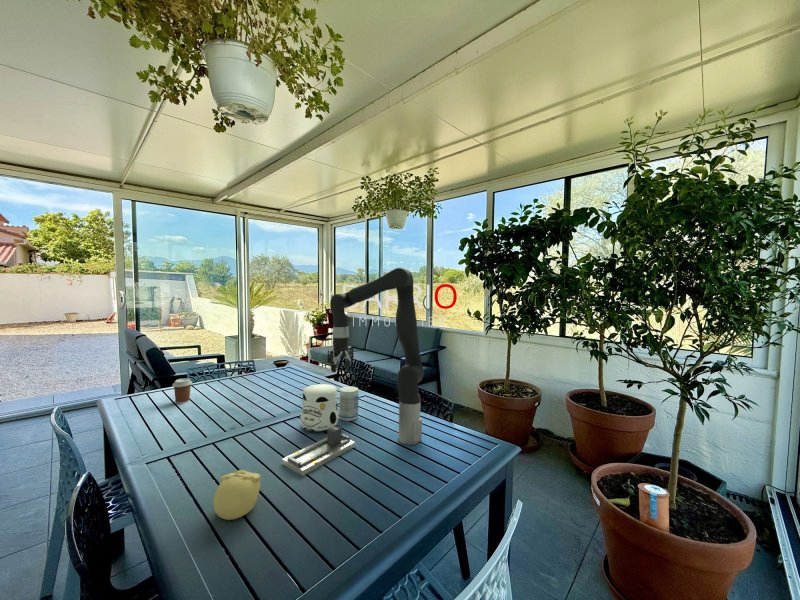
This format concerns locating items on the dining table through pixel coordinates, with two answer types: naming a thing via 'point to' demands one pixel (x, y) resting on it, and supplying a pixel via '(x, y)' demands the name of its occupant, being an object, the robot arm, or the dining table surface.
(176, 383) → the coffee cup
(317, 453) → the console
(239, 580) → the dining table surface
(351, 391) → the supplement tub
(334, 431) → the fader knob
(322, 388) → the milk container
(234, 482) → the yellow rounded piece
